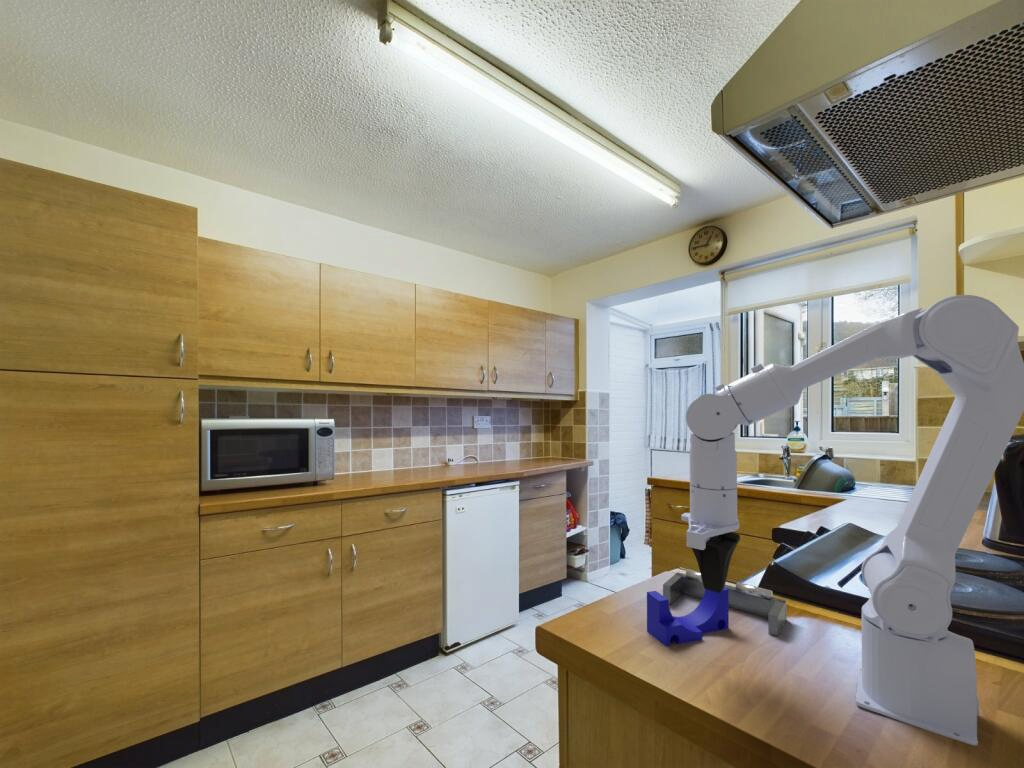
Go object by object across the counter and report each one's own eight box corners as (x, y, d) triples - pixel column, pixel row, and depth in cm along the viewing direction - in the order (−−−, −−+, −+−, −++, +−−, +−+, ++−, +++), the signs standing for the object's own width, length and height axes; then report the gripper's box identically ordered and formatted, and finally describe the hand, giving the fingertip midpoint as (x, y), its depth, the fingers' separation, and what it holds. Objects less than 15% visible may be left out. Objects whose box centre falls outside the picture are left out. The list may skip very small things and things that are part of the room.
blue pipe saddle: (666, 649, 63) (665, 605, 64) (646, 633, 68) (646, 592, 68) (736, 635, 67) (736, 593, 67) (714, 620, 71) (713, 581, 71)
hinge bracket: (786, 619, 71) (786, 592, 71) (777, 637, 66) (777, 608, 66) (677, 588, 82) (677, 565, 82) (663, 602, 77) (662, 577, 77)
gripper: (699, 473, 69) (700, 565, 69) (661, 491, 58) (662, 599, 58) (751, 479, 64) (752, 577, 64) (721, 499, 53) (722, 617, 53)
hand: (713, 589), depth 61 cm, fingers closed
